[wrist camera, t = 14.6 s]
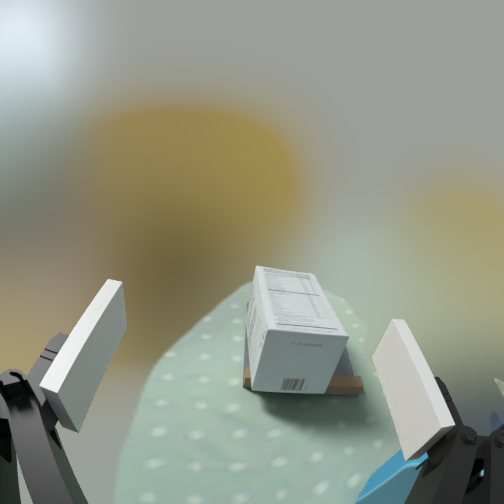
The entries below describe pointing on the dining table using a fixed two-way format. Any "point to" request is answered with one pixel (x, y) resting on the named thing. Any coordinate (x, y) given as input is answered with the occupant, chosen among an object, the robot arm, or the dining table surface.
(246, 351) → the topple mat
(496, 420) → the dining table surface
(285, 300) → the supplement box
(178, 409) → the dining table surface
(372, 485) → the data package
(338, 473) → the dining table surface
